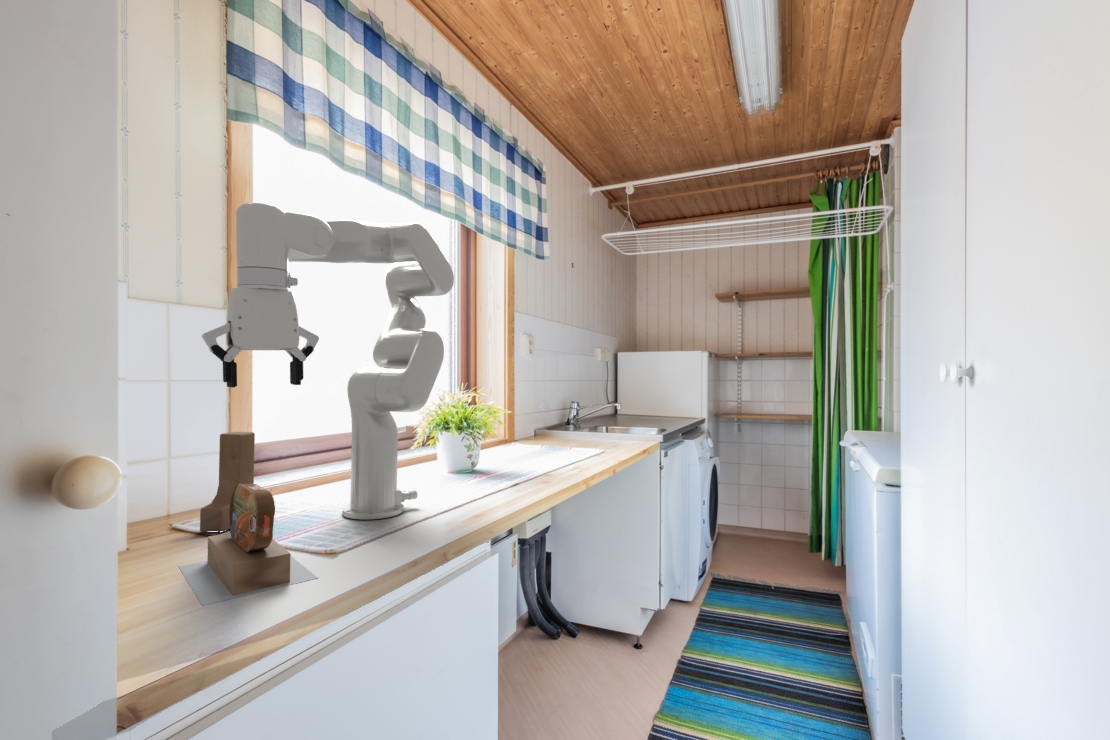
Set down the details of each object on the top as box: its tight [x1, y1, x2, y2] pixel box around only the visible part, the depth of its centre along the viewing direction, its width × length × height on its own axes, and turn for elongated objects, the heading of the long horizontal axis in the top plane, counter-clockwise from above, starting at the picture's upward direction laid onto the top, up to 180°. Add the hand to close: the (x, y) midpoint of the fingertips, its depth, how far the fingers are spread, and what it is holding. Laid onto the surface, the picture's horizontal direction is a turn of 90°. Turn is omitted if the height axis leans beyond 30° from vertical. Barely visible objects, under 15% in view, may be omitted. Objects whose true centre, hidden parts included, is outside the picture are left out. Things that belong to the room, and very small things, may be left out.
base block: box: [206, 532, 291, 596], centre depth 78 cm, size 7×16×4 cm, turn 43°
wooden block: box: [199, 431, 256, 532], centre depth 104 cm, size 9×4×18 cm, turn 173°
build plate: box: [178, 554, 319, 607], centre depth 78 cm, size 14×18×1 cm
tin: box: [229, 483, 276, 552], centre depth 78 cm, size 15×3×8 cm, turn 43°
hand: (264, 385), depth 88 cm, fingers open, 9 cm apart
